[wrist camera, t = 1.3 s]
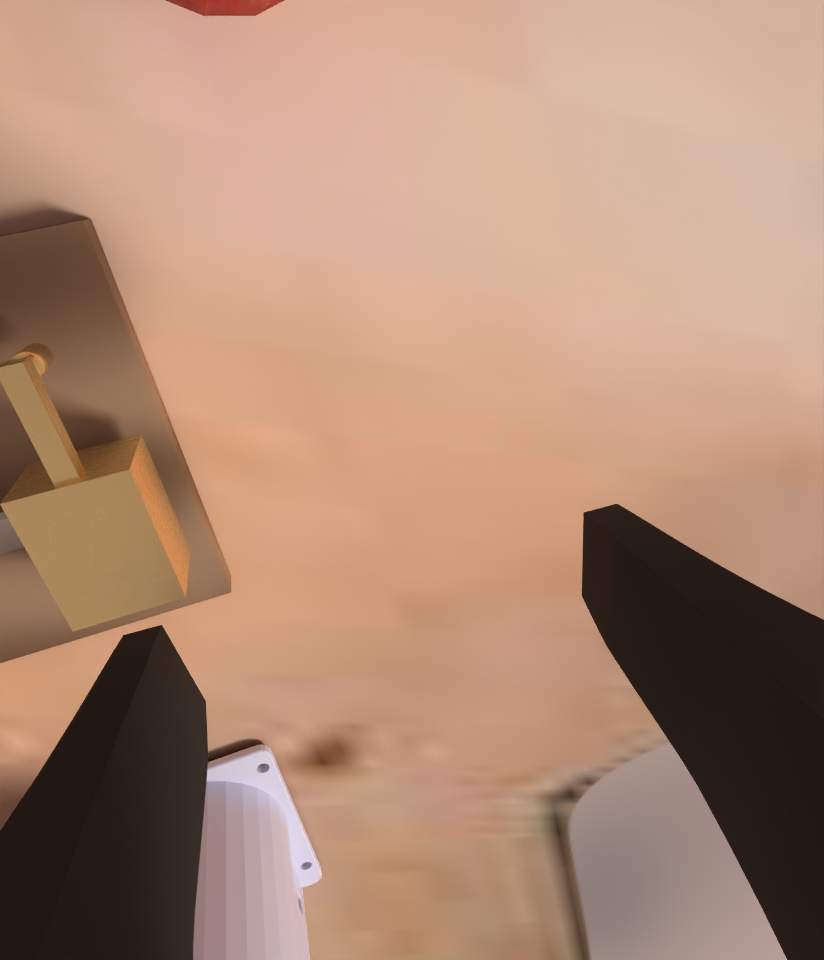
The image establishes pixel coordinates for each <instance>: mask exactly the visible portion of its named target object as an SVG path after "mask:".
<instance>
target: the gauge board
mask: <svg viewBox="0 0 824 960" xmlns="http://www.w3.org/2000/svg"><path fill="white" fill-rule="evenodd" d="M33 343H39V344H43V345H45V346H47V347H48V348H49V349H50V350H51V351H52V353H53V355H54V363H53V365H52V367H51V368H50V369H49V370H48V371H47V372H46V373H45V374H44V375H43V376H42V377H41V380H42V382H43V384H44V386H45V388H46V390H47V392H48V394H49V396H50V398H51V400H52V402H53V404H54V407H55V409H56V411H57V413H58V415H59V417H60V419H61V421H62V423H63V425H64V427H65V429H66V431H67V434H68V436H69V438H70V440H71V442H72V444H73V446H74V448H75V450H76V451H79V450H83V449H86V448H90V447H94V446H98V445H102V444H106V443H110V442H113V441H117V440H121V439H125V438H129V437H133V436H137V435H140V434H142V437H143V439H144V442H145V444H146V446H147V449H148V451H149V453H150V456H151V458H152V461H153V463H154V465H155V468H156V470H157V472H158V475H159V477H160V480H161V482H162V484H163V487H164V489H165V491H166V494H167V496H168V499H169V501H170V503H171V506H172V508H173V510H174V513H175V515H176V518H177V520H178V522H179V525H180V527H181V529H182V532H183V534H184V537H185V539H186V541H187V544H188V546H189V549H190V560H189V570H188V581H187V591H186V597H185V598H182V599H178V600H175V601H172V602H168V603H165V604H162V605H159V606H155V607H152V608H149V609H145V610H142V611H139V612H136V613H132V614H129V615H126V616H122V617H119V618H116V619H113V620H109V621H106V622H103V623H99V624H96V625H93V626H90V627H86V628H83V629H80V630H76V631H72V629H71V628H70V626H69V624H68V622H67V621H66V619H65V617H64V615H63V614H62V612H61V610H60V608H59V607H58V605H57V603H56V601H55V600H54V598H53V596H52V594H51V593H50V591H49V589H48V587H47V586H46V584H45V582H44V580H43V579H42V577H41V575H40V573H39V572H38V570H37V568H36V566H35V565H34V563H33V561H32V559H31V558H30V556H29V554H28V552H27V551H26V549H25V547H24V546H23V544H22V542H21V540H20V539H19V537H18V535H17V533H16V532H15V530H14V528H13V526H12V525H11V523H10V521H9V519H8V518H7V516H6V514H5V512H4V511H3V509H2V507H1V505H0V663H2V662H6V661H9V660H12V659H15V658H19V657H22V656H25V655H28V654H32V653H35V652H38V651H41V650H45V649H48V648H51V647H54V646H58V645H61V644H64V643H67V642H71V641H74V640H77V639H81V638H84V637H87V636H90V635H94V634H97V633H100V632H103V631H107V630H110V629H113V628H116V627H120V626H123V625H126V624H129V623H133V622H136V621H139V620H142V619H146V618H149V617H152V616H155V615H159V614H162V613H165V612H168V611H172V610H175V609H178V608H182V607H185V606H188V605H191V604H195V603H198V602H201V601H204V600H208V599H211V598H214V597H217V596H221V595H224V594H227V593H230V592H231V575H230V572H229V570H228V567H227V565H226V562H225V560H224V557H223V555H222V552H221V549H220V547H219V544H218V542H217V539H216V537H215V534H214V532H213V529H212V527H211V524H210V521H209V519H208V516H207V514H206V511H205V509H204V506H203V504H202V501H201V499H200V496H199V493H198V491H197V488H196V486H195V483H194V481H193V478H192V476H191V473H190V470H189V468H188V465H187V463H186V460H185V458H184V455H183V453H182V450H181V448H180V445H179V442H178V440H177V437H176V435H175V432H174V430H173V427H172V425H171V422H170V419H169V417H168V414H167V412H166V409H165V407H164V404H163V402H162V399H161V397H160V394H159V391H158V389H157V386H156V384H155V381H154V379H153V376H152V374H151V371H150V368H149V366H148V363H147V361H146V358H145V356H144V353H143V351H142V348H141V346H140V343H139V340H138V338H137V335H136V333H135V330H134V328H133V325H132V323H131V320H130V318H129V315H128V312H127V310H126V307H125V305H124V302H123V300H122V297H121V295H120V292H119V289H118V287H117V284H116V282H115V279H114V277H113V274H112V272H111V269H110V267H109V264H108V261H107V259H106V256H105V254H104V251H103V249H102V246H101V244H100V241H99V238H98V236H97V233H96V231H95V228H94V226H93V223H92V221H91V219H86V220H81V221H76V222H71V223H66V224H61V225H56V226H51V227H46V228H41V229H36V230H31V231H26V232H21V233H16V234H11V235H6V236H1V237H0V364H1V363H2V362H6V361H9V360H10V359H11V358H12V357H13V356H15V355H16V354H17V353H19V352H20V351H21V350H22V349H24V348H25V347H26V346H28V345H30V344H33ZM40 460H41V459H40V457H39V455H38V453H37V451H36V449H35V448H34V446H33V444H32V442H31V440H30V438H29V436H28V434H27V432H26V430H25V428H24V426H23V424H22V422H21V420H20V418H19V417H18V415H17V413H16V411H15V409H14V407H13V405H12V403H11V401H10V399H9V397H8V395H7V393H6V391H5V389H4V387H3V386H2V384H1V382H0V503H1V502H2V501H3V499H4V498H5V496H6V495H7V494H8V492H9V491H10V489H11V488H12V487H13V485H14V484H15V483H16V481H17V480H18V478H19V477H20V476H21V474H22V473H23V471H24V470H25V469H26V467H27V466H28V464H29V463H32V462H36V461H40Z"/></svg>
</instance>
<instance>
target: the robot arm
mask: <svg viewBox="0 0 824 960" xmlns="http://www.w3.org/2000/svg"><path fill="white" fill-rule="evenodd" d="M582 597H583V599H584V601H585V603H586V605H587V607H588V609H589V611H590V614H591V616H592V618H593V620H594V622H595V624H596V626H597V628H598V630H599V632H600V634H601V636H602V638H603V639H604V641H605V643H606V645H607V647H608V649H609V650H610V652H611V653H612V655H613V657H614V658H615V660H616V661H617V663H618V664H619V666H620V667H621V669H622V670H623V672H624V673H625V675H626V676H627V678H628V679H629V681H630V683H631V684H632V686H633V687H634V689H635V690H636V692H637V693H638V695H639V696H640V698H641V699H642V701H643V702H644V704H645V705H646V707H647V708H648V710H649V711H650V713H651V714H652V716H653V717H654V719H655V720H656V722H657V723H658V725H659V726H660V728H661V729H662V731H663V732H664V734H665V735H666V737H667V738H668V740H669V741H670V743H671V744H672V746H673V747H674V749H675V750H676V752H677V753H678V755H679V756H680V758H681V759H682V761H683V763H684V764H685V766H686V767H687V769H688V771H689V772H690V774H691V776H692V777H693V779H694V781H695V782H696V784H697V785H698V787H699V789H700V791H701V793H702V794H703V797H704V798H705V800H706V802H707V804H708V806H709V808H710V809H711V811H712V813H713V815H714V817H715V819H716V820H717V822H718V824H719V826H720V828H721V830H722V832H723V833H724V835H725V837H726V839H727V841H728V843H729V845H730V847H731V848H732V850H733V853H734V854H735V856H736V858H737V860H738V862H739V864H740V866H741V868H742V870H743V872H744V874H745V876H746V878H747V879H748V882H749V883H750V885H751V887H752V889H753V891H754V893H755V895H756V897H757V899H758V901H759V903H760V905H761V907H762V909H763V911H764V913H765V915H766V917H767V919H768V921H769V923H770V925H771V927H772V929H773V931H774V933H775V935H776V937H777V940H778V942H779V943H780V946H781V948H782V950H783V952H784V954H785V956H786V958H787V960H824V620H823V619H821V618H819V617H817V616H815V615H812V614H810V613H808V612H806V611H804V610H802V609H800V608H798V607H796V606H795V605H793V604H791V603H789V602H787V601H785V600H783V599H781V598H779V597H777V596H775V595H773V594H771V593H769V592H767V591H765V590H763V589H761V588H760V587H758V586H756V585H754V584H752V583H750V582H749V581H747V580H745V579H743V578H741V577H739V576H738V575H736V574H734V573H732V572H730V571H729V570H727V569H725V568H723V567H722V566H720V565H718V564H716V563H715V562H713V561H711V560H709V559H708V558H706V557H704V556H703V555H701V554H699V553H698V552H696V551H694V550H693V549H691V548H689V547H687V546H686V545H684V544H683V543H681V542H679V541H678V540H676V539H674V538H673V537H671V536H669V535H668V534H666V533H664V532H663V531H661V530H659V529H658V528H656V527H655V526H653V525H651V524H650V523H648V522H646V521H645V520H643V519H642V518H640V517H638V516H637V515H635V514H633V513H632V512H630V511H628V510H627V509H625V508H623V507H622V506H620V505H618V504H614V505H611V506H607V507H603V508H599V509H596V510H592V511H588V512H584V524H583V572H582ZM260 764H265V765H260ZM321 876H322V872H321V866H320V864H319V862H318V859H317V857H316V855H315V852H314V850H313V847H312V845H311V843H310V840H309V838H308V836H307V833H306V831H305V829H304V826H303V824H302V822H301V819H300V817H299V814H298V812H297V810H296V807H295V805H294V803H293V800H292V798H291V796H290V793H289V791H288V789H287V786H286V784H285V781H284V779H283V777H282V774H281V772H280V770H279V767H278V765H277V763H276V760H275V758H274V756H273V753H272V751H271V749H270V748H269V747H268V746H266V745H256V746H253V747H250V748H247V749H244V750H241V751H238V752H235V753H233V754H230V755H227V756H224V757H221V758H218V759H215V760H213V761H210V762H208V744H207V719H206V701H205V699H204V698H203V696H202V694H201V692H200V691H199V689H198V687H197V685H196V684H195V682H194V680H193V678H192V677H191V675H190V673H189V671H188V670H187V668H186V666H185V665H184V663H183V661H182V659H181V658H180V656H179V654H178V652H177V651H176V649H175V647H174V645H173V644H172V642H171V640H170V638H169V637H168V635H167V633H166V631H165V630H164V628H163V626H162V625H160V626H156V627H153V628H149V629H145V630H141V631H138V632H134V633H130V634H126V635H123V637H122V639H121V640H120V642H119V643H118V645H117V647H116V648H115V650H114V651H113V653H112V655H111V656H110V658H109V660H108V661H107V663H106V665H105V666H104V668H103V670H102V671H101V673H100V675H99V676H98V678H97V680H96V681H95V683H94V685H93V686H92V688H91V690H90V691H89V693H88V695H87V696H86V698H85V700H84V701H83V703H82V705H81V706H80V708H79V710H78V711H77V713H76V715H75V716H74V718H73V720H72V721H71V723H70V725H69V726H68V728H67V729H66V731H65V733H64V734H63V736H62V737H61V739H60V741H59V742H58V744H57V745H56V747H55V749H54V750H53V752H52V753H51V755H50V757H49V758H48V760H47V761H46V763H45V765H44V766H43V768H42V769H41V771H40V772H39V774H38V776H37V777H36V779H35V780H34V782H33V783H32V785H31V786H30V788H29V789H28V791H27V792H26V794H25V795H24V797H23V798H22V799H21V801H20V802H19V804H18V805H17V807H16V808H15V810H14V811H13V813H12V814H11V816H10V817H9V819H8V820H7V822H6V823H5V825H4V826H3V827H2V829H1V830H0V960H310V953H309V944H308V935H307V926H306V917H305V908H304V899H303V890H302V888H304V887H306V886H309V885H311V884H314V883H316V882H317V881H319V880H320V878H321Z"/></svg>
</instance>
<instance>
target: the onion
mask: <svg viewBox="0 0 824 960" xmlns="http://www.w3.org/2000/svg"><path fill="white" fill-rule="evenodd" d="M166 1H169V2H171V3H174V4H176V5H179V6H181V7H184V8H186V9H188V10H191V11H193V12H196V13H198V14H201V15H203V16H256V15H258V14H260V13H261V12H263V11H265V10H267V9H269V8H271V7H273V6H275V5H277V4H278V3H280V2H282V1H284V0H166Z"/></svg>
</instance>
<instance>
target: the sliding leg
mask: <svg viewBox="0 0 824 960" xmlns="http://www.w3.org/2000/svg"><path fill="white" fill-rule="evenodd" d="M53 363H54V355H53V353H52V351H51V350H50V349H49V348H48V347H47V346H45V345H43V344H39V343H33V344H30V345H28V346H26V347H25V348H24V349H22V350H21V351H20V352H19V353H17V354H16V355H15V356H13V357H12V358H11V359H10V360H9V361H6V362H2V363H1V364H0V382H1V384H2V386H3V387H4V389H5V391H6V393H7V395H8V397H9V399H10V401H11V403H12V405H13V407H14V409H15V411H16V413H17V415H18V417H19V418H20V420H21V422H22V424H23V426H24V428H25V430H26V432H27V434H28V436H29V438H30V440H31V442H32V444H33V446H34V448H35V449H36V451H37V453H38V455H39V457H40V459H41V460H40V461H36V462H32V463H29V464H28V466H27V467H26V469H25V470H24V471H23V473H22V474H21V476H20V477H19V478H18V480H17V481H16V483H15V484H14V485H13V487H12V488H11V489H10V491H9V492H8V494H7V495H6V496H5V498H4V499H3V501H2V502H1V503H0V505H1V507H2V509H3V511H4V512H5V514H6V516H7V518H8V519H9V521H10V523H11V525H12V526H13V528H14V530H15V532H16V533H17V535H18V537H19V539H20V540H21V542H22V544H23V546H24V547H25V549H26V551H27V552H28V554H29V556H30V558H31V559H32V561H33V563H34V565H35V566H36V568H37V570H38V572H39V573H40V575H41V577H42V579H43V580H44V582H45V584H46V586H47V587H48V589H49V591H50V593H51V594H52V596H53V598H54V600H55V601H56V603H57V605H58V607H59V608H60V610H61V612H62V614H63V615H64V617H65V619H66V621H67V622H68V624H69V626H70V628H71V629H72V631H76V630H80V629H83V628H86V627H90V626H93V625H96V624H99V623H103V622H106V621H109V620H113V619H116V618H119V617H122V616H126V615H129V614H132V613H136V612H139V611H142V610H145V609H149V608H152V607H155V606H159V605H162V604H165V603H168V602H172V601H175V600H178V599H182V598H185V597H186V591H187V581H188V570H189V560H190V549H189V546H188V544H187V541H186V539H185V537H184V534H183V532H182V529H181V527H180V525H179V522H178V520H177V518H176V515H175V513H174V510H173V508H172V506H171V503H170V501H169V499H168V496H167V494H166V491H165V489H164V487H163V484H162V482H161V480H160V477H159V475H158V472H157V470H156V468H155V465H154V463H153V461H152V458H151V456H150V453H149V451H148V449H147V446H146V444H145V442H144V439H143V437H142V434H140V435H137V436H133V437H129V438H125V439H121V440H117V441H113V442H110V443H106V444H102V445H98V446H94V447H90V448H86V449H83V450H79V451H76V450H75V448H74V446H73V444H72V442H71V440H70V438H69V436H68V434H67V431H66V429H65V427H64V425H63V423H62V421H61V419H60V417H59V415H58V413H57V411H56V409H55V407H54V404H53V402H52V400H51V398H50V396H49V394H48V392H47V390H46V388H45V386H44V384H43V382H42V380H41V377H42V376H43V375H44V374H45V373H46V372H47V371H48V370H49V369H50V368H51V367H52V365H53Z"/></svg>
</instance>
